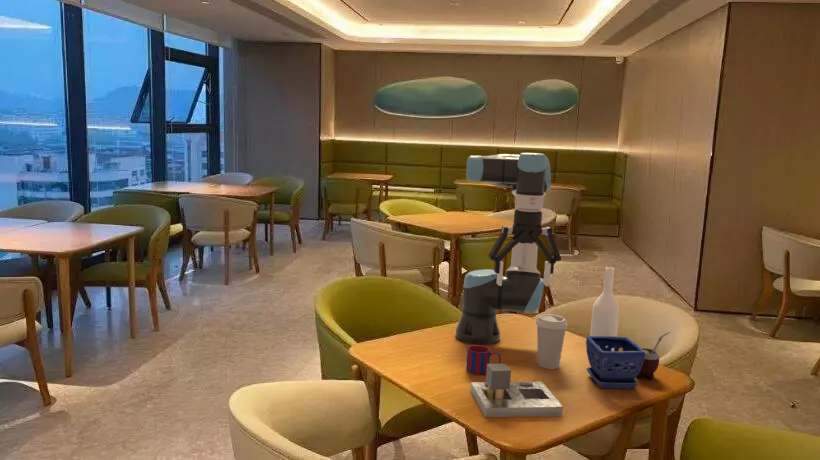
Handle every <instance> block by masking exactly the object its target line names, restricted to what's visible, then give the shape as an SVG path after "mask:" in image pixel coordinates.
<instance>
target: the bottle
mask: <svg viewBox="0 0 820 460" xmlns="http://www.w3.org/2000/svg"><path fill="white" fill-rule="evenodd" d="M614 277H615V268H614V267H611V266H609V267H608V266H606V267H605V271H604V283H603V291H602V293H601V294H600V295H599V296H598V298H597V299H596V300H595V301H594V303H593V305H592V311H591V312H592V313H591V322H590V323H591V324H590V333H589V336H614V337H618V328H619V321H620V320H619V319H620V306H619V303H618V301H617V300H616V297H615V296H614V292H613V288H614ZM599 346H600V345H599ZM607 347H608V346H606V348H607ZM611 351H614V348H612V349H611Z"/></svg>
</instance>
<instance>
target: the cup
mask: <svg viewBox="0 0 820 460" xmlns="http://www.w3.org/2000/svg"><path fill="white" fill-rule="evenodd" d="M492 355H497V356H498V363H497V364H502V357H501V354H500V353H499V352H497V351H491V348H490V347H488V346H485V345H483V344H472V345H469V346H467V351H466V363H465V364H466V367H465V369H466V372H467V373H469V374H471V375H476V376H483V375H486V372H487V364H490V361H491V360H490V358H491V356H492Z"/></svg>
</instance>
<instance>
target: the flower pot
mask: <svg viewBox="0 0 820 460" xmlns="http://www.w3.org/2000/svg"><path fill="white" fill-rule="evenodd" d="M585 344H586V345H585V346H586V347H585V348H586V354H587V358H588V359H587V360H588V363H589V365H590V367H586V372H587V373H588V374H589V376H590V377H591V378H592V379H593V380H594V381H595V383H596V384H597V385H598V386H599V387H600V388H601V389H623V390H624V389H625V390H626V389H629V390H632V389H634V388H636V387H637V386H638V385H639V382H638V381H637V380H636V379H637V378H636V377H637V375H638V374H639V372H640V370H641V368H642V365H643V362H644V358H645V352H644V350H643V349H642V348H643V347H642V348H641V346H640V345H638V344H637V343H636V342H635V341H633V340H632V339H630V338H629V337H628V336H617V337H614V336H590V335H589V336H587V337H586V340H585ZM599 345H600V346H599ZM606 346H608V347H607V348H606ZM612 348H614V351H611V349H612ZM621 348H622V350H620V349H621Z"/></svg>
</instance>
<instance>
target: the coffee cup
mask: <svg viewBox="0 0 820 460" xmlns="http://www.w3.org/2000/svg"><path fill="white" fill-rule="evenodd" d="M535 324H536V326H537V327H536V328H537V337H536V339H537V340H536V341H537V344H536V345H537V365H538V366H539V367H541V368H544V369H550V370H552V369H553V370H554V369H558V368H559V367H560V363H561V358H562V353H563V352H562V351H563V347H564V340H565V334H566V330H567V328H568V326H569V325H568V323H567V320H566V318H565V317H563V316H561V315H558V314H551V313H546V314H540V315H539V316H538V318H537V319H536V321H535Z"/></svg>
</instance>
